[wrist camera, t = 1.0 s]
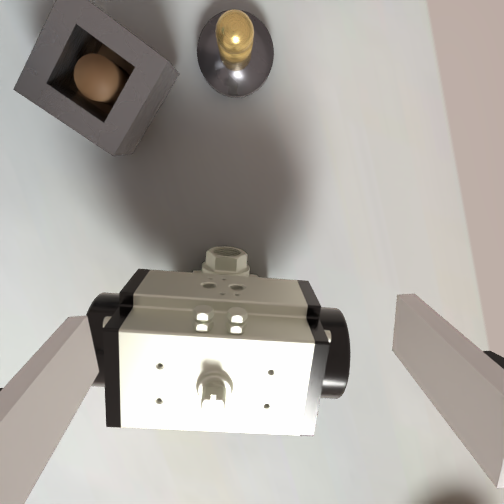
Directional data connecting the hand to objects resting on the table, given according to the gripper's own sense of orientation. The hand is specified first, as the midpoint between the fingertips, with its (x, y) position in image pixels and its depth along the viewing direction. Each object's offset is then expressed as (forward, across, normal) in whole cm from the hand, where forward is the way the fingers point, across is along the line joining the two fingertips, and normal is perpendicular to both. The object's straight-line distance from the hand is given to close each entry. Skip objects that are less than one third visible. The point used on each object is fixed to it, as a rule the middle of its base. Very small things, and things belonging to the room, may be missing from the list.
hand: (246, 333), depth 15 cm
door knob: (+22, +1, +15) cm, 26 cm away
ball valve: (+22, -2, -6) cm, 22 cm away
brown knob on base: (+22, -10, +13) cm, 27 cm away
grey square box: (+20, -10, +13) cm, 26 cm away
